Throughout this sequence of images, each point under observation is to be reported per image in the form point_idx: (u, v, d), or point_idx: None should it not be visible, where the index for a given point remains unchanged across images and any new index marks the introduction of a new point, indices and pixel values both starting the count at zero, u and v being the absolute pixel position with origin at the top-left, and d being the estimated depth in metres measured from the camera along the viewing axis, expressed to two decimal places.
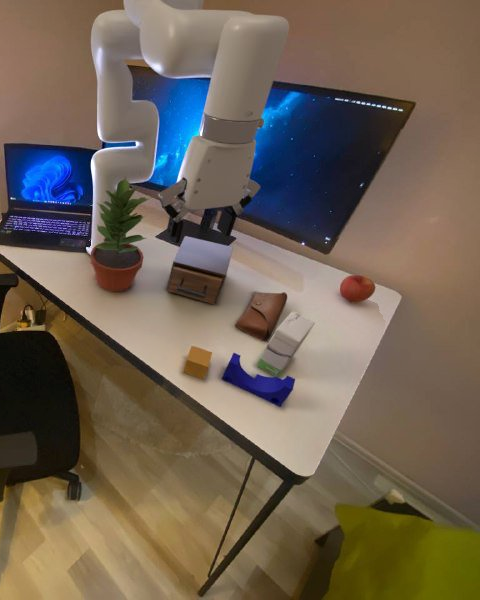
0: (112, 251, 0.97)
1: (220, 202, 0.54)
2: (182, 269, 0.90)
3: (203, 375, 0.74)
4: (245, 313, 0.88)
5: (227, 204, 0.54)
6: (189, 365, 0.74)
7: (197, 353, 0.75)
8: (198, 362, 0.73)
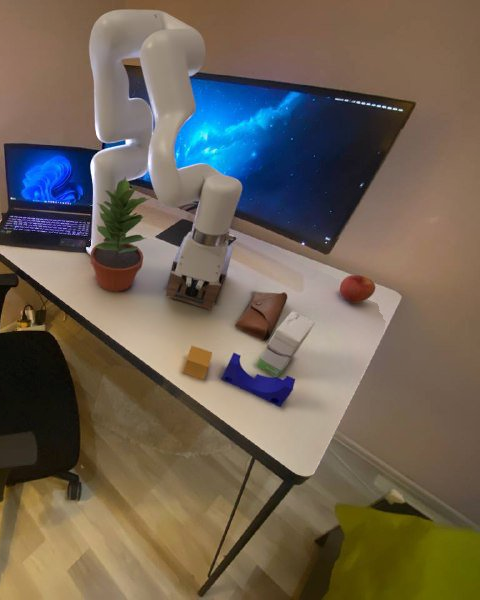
0: (112, 251, 0.97)
1: (199, 276, 0.82)
2: None
3: (203, 375, 0.74)
4: (245, 313, 0.88)
5: (205, 279, 0.82)
6: (189, 365, 0.74)
7: (197, 353, 0.75)
8: (198, 362, 0.73)
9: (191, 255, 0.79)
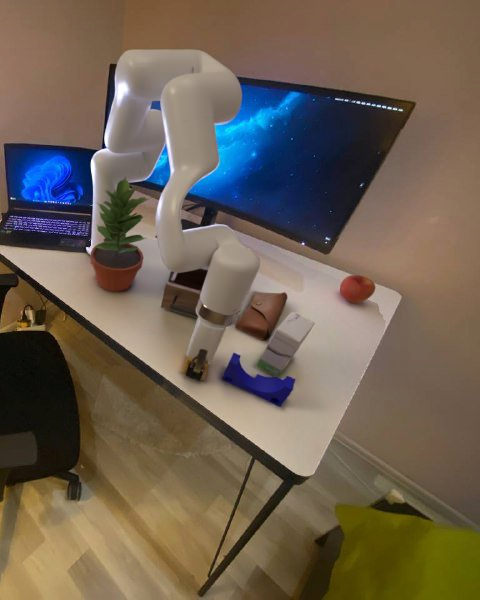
0: (112, 251, 0.97)
1: None
2: (175, 285, 0.85)
3: (203, 375, 0.74)
4: (246, 313, 0.88)
5: None
6: None
7: None
8: None
9: None
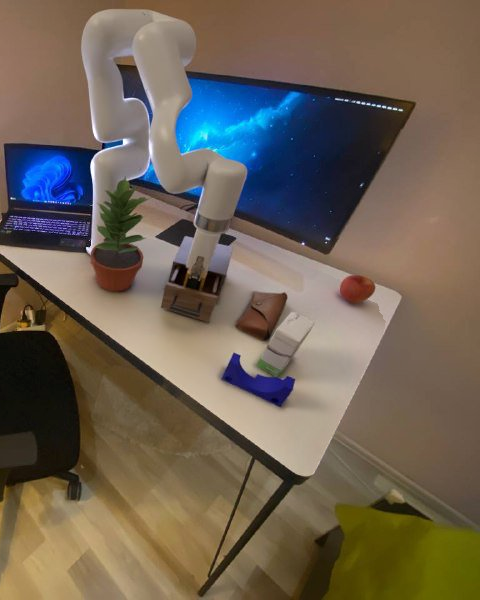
0: (112, 251, 0.97)
1: None
2: (175, 285, 0.85)
3: (200, 287, 0.85)
4: (246, 313, 0.88)
5: None
6: None
7: None
8: None
9: (216, 246, 0.77)
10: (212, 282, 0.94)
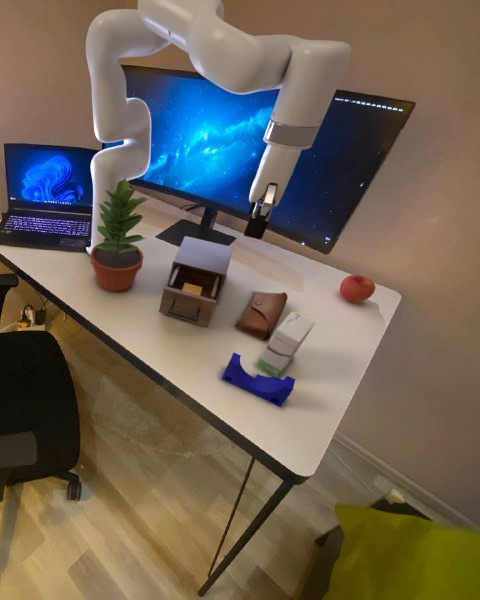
0: (112, 251, 0.97)
1: None
2: (173, 290, 0.84)
3: None
4: (246, 313, 0.88)
5: None
6: None
7: (190, 288, 0.88)
8: None
9: None
10: (211, 286, 0.93)
